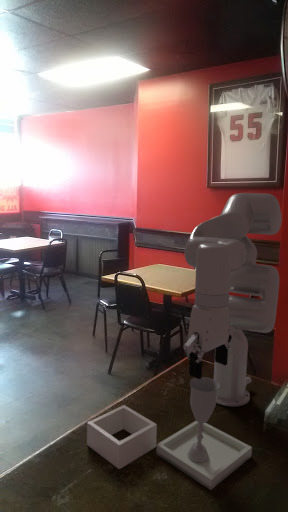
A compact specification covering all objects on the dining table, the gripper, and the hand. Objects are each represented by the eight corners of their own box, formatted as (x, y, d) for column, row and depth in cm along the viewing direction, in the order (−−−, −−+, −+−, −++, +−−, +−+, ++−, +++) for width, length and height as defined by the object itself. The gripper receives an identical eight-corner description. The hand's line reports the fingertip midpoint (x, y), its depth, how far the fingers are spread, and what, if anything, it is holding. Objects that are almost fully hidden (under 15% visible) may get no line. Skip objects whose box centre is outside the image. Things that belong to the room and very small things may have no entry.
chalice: (211, 468, 92) (218, 393, 89) (181, 462, 93) (187, 388, 90) (213, 449, 99) (220, 379, 96) (185, 443, 100) (191, 374, 97)
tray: (198, 427, 109) (198, 419, 108) (251, 456, 97) (251, 447, 97) (156, 454, 97) (156, 444, 97) (210, 490, 86) (211, 479, 86)
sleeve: (123, 425, 109) (124, 404, 108) (156, 446, 100) (156, 424, 99) (87, 444, 100) (87, 422, 99) (119, 469, 92) (119, 445, 91)
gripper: (220, 288, 100) (217, 353, 103) (173, 302, 88) (171, 376, 91) (247, 294, 94) (243, 363, 98) (201, 311, 82) (198, 389, 86)
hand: (208, 369), depth 94 cm, fingers open, 9 cm apart
